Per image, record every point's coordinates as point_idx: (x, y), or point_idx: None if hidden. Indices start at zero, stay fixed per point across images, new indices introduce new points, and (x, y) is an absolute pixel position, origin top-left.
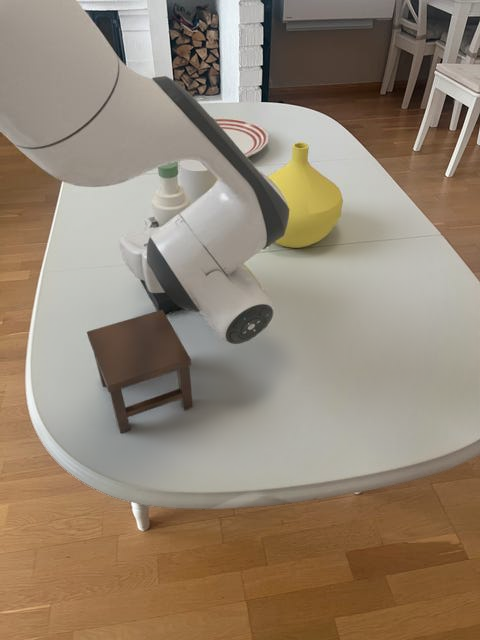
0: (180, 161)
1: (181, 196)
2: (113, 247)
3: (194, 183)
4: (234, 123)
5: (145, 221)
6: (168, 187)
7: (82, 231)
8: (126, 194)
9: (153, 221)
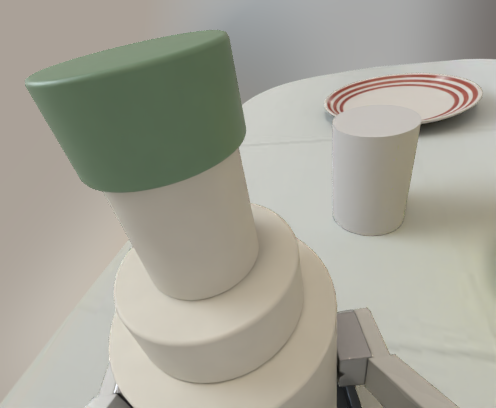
0: (335, 119)
1: (262, 328)
2: None
3: (360, 162)
4: (419, 78)
5: None
6: (153, 258)
7: None
8: (257, 169)
9: None
